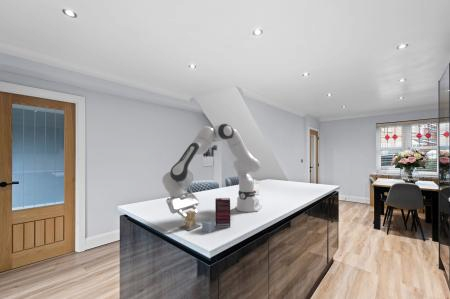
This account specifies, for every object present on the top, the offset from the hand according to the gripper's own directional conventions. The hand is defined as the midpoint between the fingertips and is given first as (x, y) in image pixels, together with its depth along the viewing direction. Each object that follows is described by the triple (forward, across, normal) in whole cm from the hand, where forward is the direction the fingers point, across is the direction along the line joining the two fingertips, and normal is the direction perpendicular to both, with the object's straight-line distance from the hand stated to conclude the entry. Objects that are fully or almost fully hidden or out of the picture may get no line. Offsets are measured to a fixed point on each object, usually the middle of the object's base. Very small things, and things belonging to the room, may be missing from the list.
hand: (190, 215), depth 116 cm
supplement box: (+15, +12, -5) cm, 20 cm away
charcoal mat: (+4, 0, +5) cm, 7 cm away
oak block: (+4, 0, +5) cm, 6 cm away
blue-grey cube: (+13, +2, -3) cm, 13 cm away
